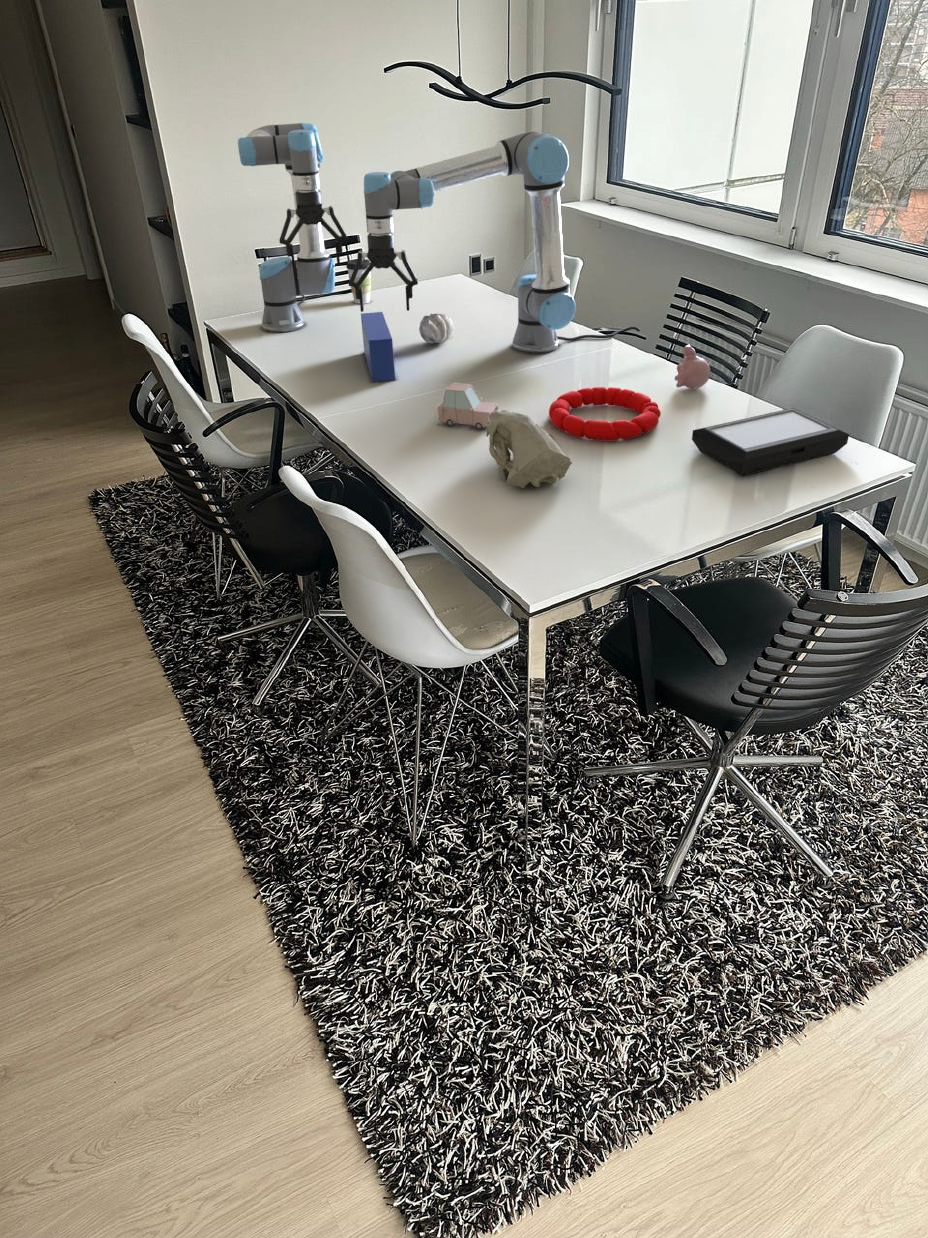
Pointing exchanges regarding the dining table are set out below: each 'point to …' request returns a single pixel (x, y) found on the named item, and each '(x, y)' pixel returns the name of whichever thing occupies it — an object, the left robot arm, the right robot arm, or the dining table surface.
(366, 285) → the coffee cup
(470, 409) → the toy car
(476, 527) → the dining table surface
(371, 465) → the dining table surface
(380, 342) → the box
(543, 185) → the right robot arm
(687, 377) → the figurine
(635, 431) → the decorative ring
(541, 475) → the animal skull
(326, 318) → the dining table surface
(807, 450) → the electronic device
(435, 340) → the seashell
